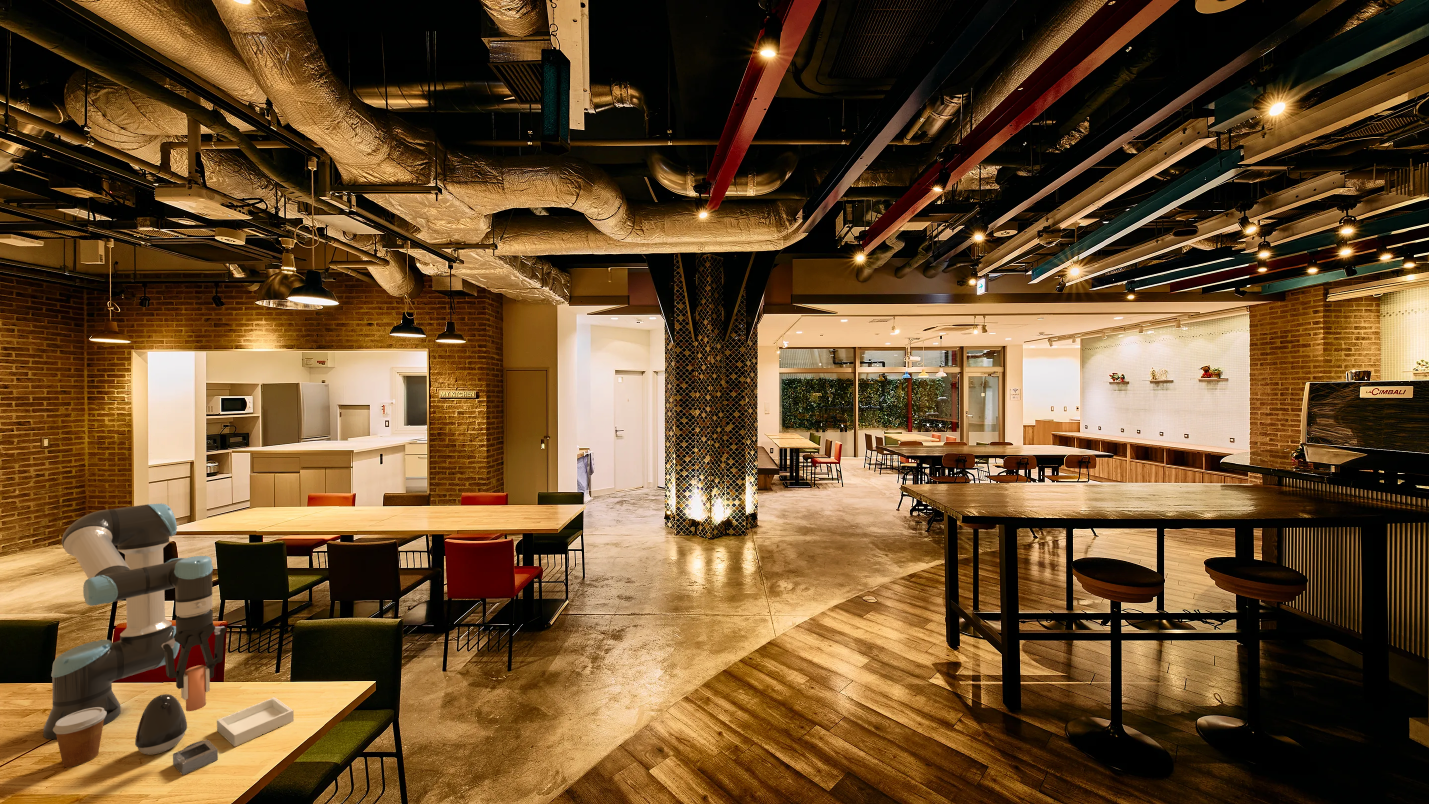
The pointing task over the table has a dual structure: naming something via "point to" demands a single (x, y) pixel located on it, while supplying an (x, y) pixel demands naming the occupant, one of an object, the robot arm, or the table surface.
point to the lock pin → (196, 688)
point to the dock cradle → (254, 721)
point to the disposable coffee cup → (80, 735)
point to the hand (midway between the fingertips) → (195, 694)
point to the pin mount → (195, 757)
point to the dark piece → (161, 725)
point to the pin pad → (193, 744)
